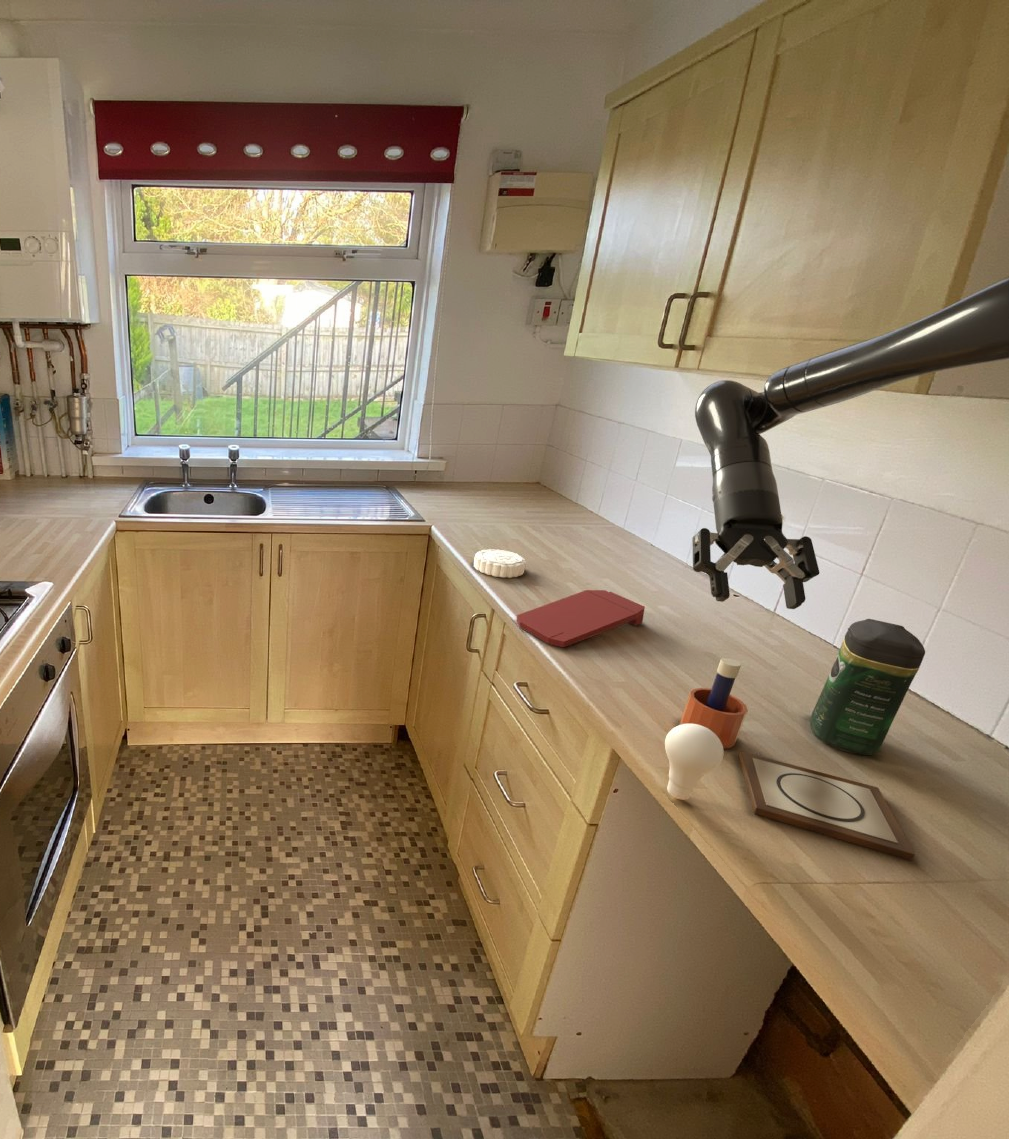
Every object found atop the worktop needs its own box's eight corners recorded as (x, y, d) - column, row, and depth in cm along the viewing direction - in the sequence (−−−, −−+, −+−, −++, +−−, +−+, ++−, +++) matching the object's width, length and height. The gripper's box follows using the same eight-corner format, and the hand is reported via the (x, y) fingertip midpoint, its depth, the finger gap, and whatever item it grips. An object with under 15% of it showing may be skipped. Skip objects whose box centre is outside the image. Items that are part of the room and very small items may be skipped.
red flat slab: (556, 665, 121) (651, 627, 128) (558, 643, 118) (654, 606, 126) (510, 637, 131) (600, 603, 138) (511, 616, 129) (603, 583, 136)
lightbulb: (678, 779, 86) (701, 711, 82) (716, 811, 80) (742, 741, 76) (639, 783, 85) (660, 716, 80) (674, 816, 79) (699, 745, 75)
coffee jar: (882, 764, 89) (937, 650, 82) (810, 743, 93) (857, 633, 86) (872, 731, 96) (922, 624, 89) (805, 713, 101) (848, 609, 94)
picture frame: (875, 793, 84) (879, 785, 83) (911, 861, 73) (916, 852, 73) (738, 756, 90) (741, 749, 90) (753, 813, 80) (757, 806, 79)
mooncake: (529, 579, 151) (531, 566, 150) (477, 576, 153) (479, 562, 151) (517, 562, 162) (520, 549, 161) (469, 558, 164) (472, 546, 162)
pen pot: (731, 729, 96) (743, 696, 94) (738, 754, 91) (751, 720, 88) (677, 715, 100) (688, 683, 97) (681, 739, 94) (692, 705, 92)
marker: (715, 728, 95) (739, 660, 91) (717, 737, 94) (742, 667, 89) (696, 723, 97) (719, 656, 92) (698, 732, 95) (721, 663, 90)
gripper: (703, 483, 90) (713, 587, 84) (819, 491, 86) (838, 599, 80) (679, 509, 96) (687, 606, 90) (785, 517, 93) (801, 618, 87)
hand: (758, 603), depth 85 cm, fingers open, 8 cm apart
